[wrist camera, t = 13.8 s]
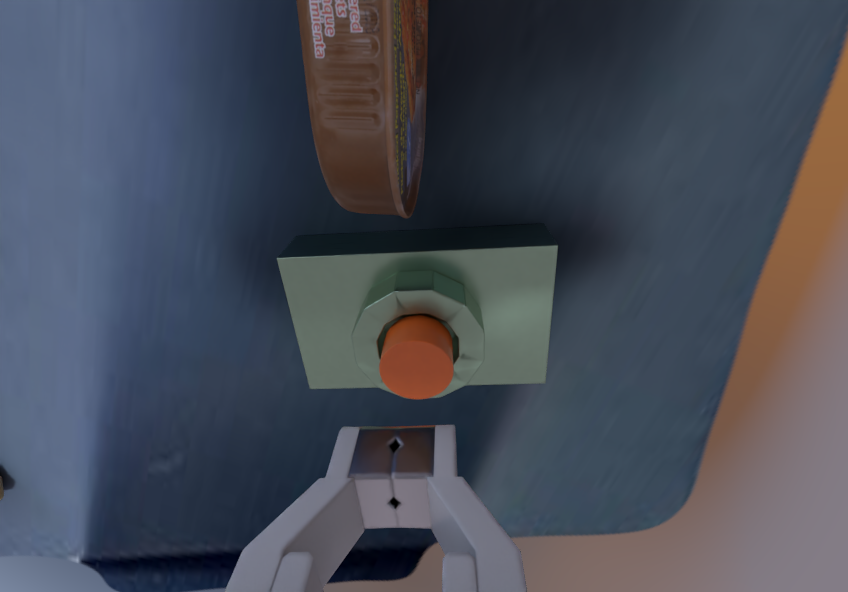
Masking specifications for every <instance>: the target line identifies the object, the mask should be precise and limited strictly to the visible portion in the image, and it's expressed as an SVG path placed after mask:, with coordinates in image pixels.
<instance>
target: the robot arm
mask: <svg viewBox="0 0 848 592" xmlns="http://www.w3.org/2000/svg"><path fill="white" fill-rule="evenodd" d="M396 527H399V528H432V531H433V533H434V535H435V537H436V539H437V541H438V542H439V544H440V546H441V548H442V550H443V551H444V553H445V555H446V556H445V557H444V558H443V578H442V592H527V588H526V581H525V575H524V569H523V563H522V557H521V551H520V550H519V549H518V547H517V546H516V545H515V543H514V542H513V541H512V540H511V538H510V537H509V536H508V534H507V533H506V532H505V531H504V529H503V528H502V527H501V526H500V524H499V523H498V522H497V520H496V519H495V518H494V517H493V515H492V514H491V513H490V511H489V510H488V509H487V508H486V506H485V505H484V504H483V503H482V501H481V500H480V499H479V497H478V496H477V495H476V494H475V492H474V491H473V490H472V489H471V487H470V486H469V485H468V483H467V482H466V481H465V480H464V478H463V477H457V458H456V436H455V425H436V426H435V425H434V426H398V427H342V429H341V430H340V431H339V435H338V438H337V441H336V445H335V448H334V451H333V454H332V458H331V461H330V464H329V468H328V471H327V474H326V477H325V478H319V479H318V480H317V481H316V482H315V483H314V484H313V485H312V486H311V487H310V488H309V489H308V490H306V491H305V492H304V493H303V494H302V495H301V496H300V497H299V498H298V499H297V500H296V501H295V502H294V503H293V504H291V505H290V506H289V507H288V508H287V509H286V510H285V511H284V512H283V513H282V514H281V515H280V516H279V517H277V518H276V519H275V520H274V521H273V522H272V523H271V524H270V525H269V526H268V527H267V528H266V529H265V530H264V531H262V532H261V533H260V534H259V535H258V536H257V537H256V538H255V539H254V540H253V541H252V542H251V543H250V544H249V545H247V546H246V547H245V548H244V549H243V551H242V553H241V555H240V558H239V560H238V562H237V565H236V567H235V569H234V572H233V574H232V576H231V578H230V581H229V583H228V585H227V588H226V590H225V592H324V591H323V587H324V586H325V584H326V583H327V582H328V580H329V579H330V577H331V576H332V575H333V573H334V572H335V571H336V569H337V568H338V566H339V565H340V564H341V562H342V561H343V560H344V558H345V557H346V555H347V554H348V553H349V551H350V550H351V548H352V547H353V546H354V544H355V543H356V542H357V540H358V539H359V537H360V536H361V535H362V533H363V532H364V528H396Z"/></svg>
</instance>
